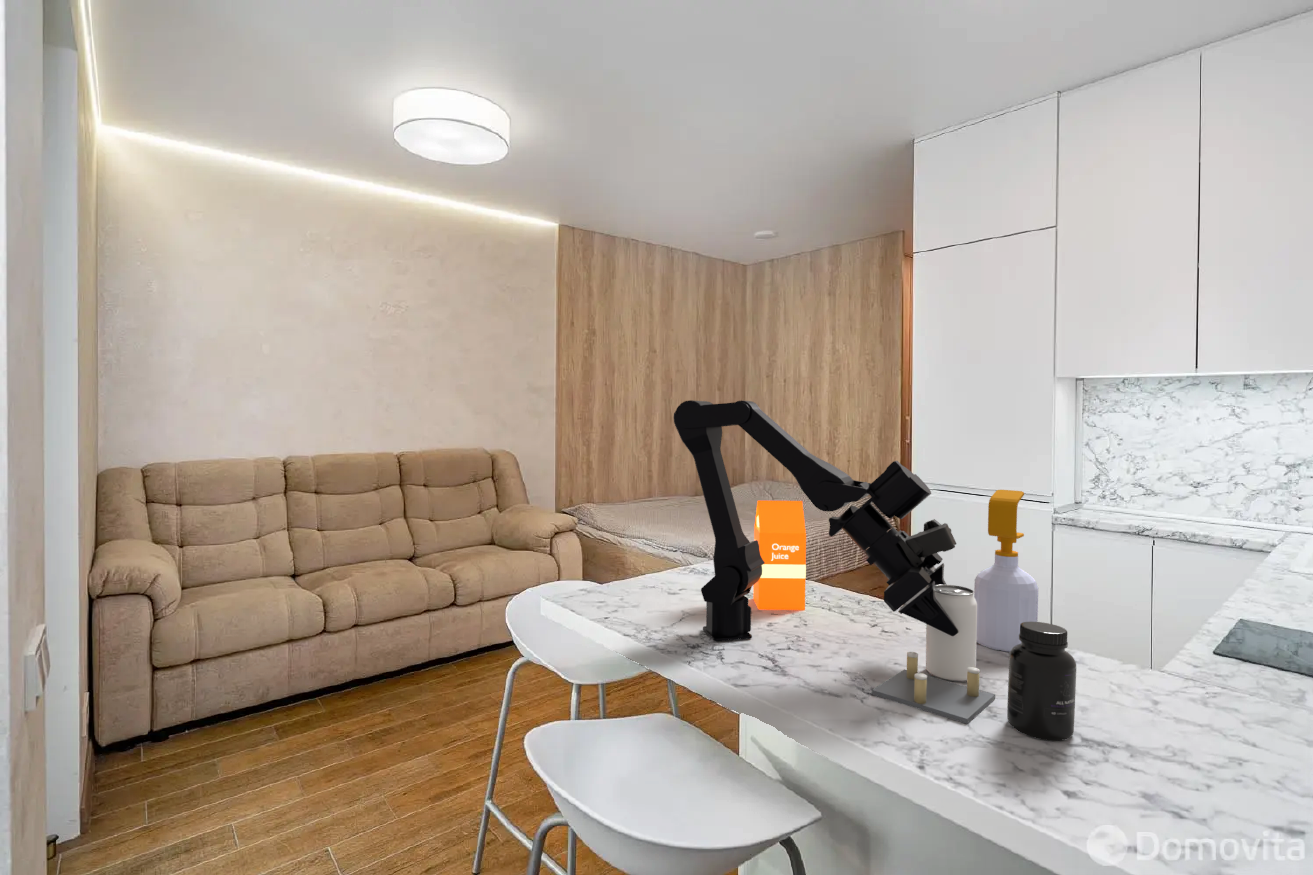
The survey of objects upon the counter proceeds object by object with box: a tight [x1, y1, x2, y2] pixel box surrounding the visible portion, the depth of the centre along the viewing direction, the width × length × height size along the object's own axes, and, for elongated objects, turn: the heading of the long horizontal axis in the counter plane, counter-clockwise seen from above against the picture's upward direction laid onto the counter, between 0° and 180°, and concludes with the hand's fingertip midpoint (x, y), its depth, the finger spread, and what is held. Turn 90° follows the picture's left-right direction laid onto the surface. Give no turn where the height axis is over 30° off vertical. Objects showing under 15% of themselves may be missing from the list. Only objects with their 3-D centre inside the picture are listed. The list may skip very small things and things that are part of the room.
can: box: [925, 584, 977, 683], centre depth 95 cm, size 6×6×12 cm
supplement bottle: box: [1006, 621, 1077, 742], centre depth 79 cm, size 7×7×12 cm
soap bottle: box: [973, 489, 1039, 653], centre depth 108 cm, size 9×9×25 cm
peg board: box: [871, 651, 996, 725], centre depth 88 cm, size 12×10×4 cm
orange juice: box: [752, 500, 807, 611], centre depth 130 cm, size 8×9×20 cm
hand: (958, 624), depth 95 cm, fingers open, 9 cm apart
